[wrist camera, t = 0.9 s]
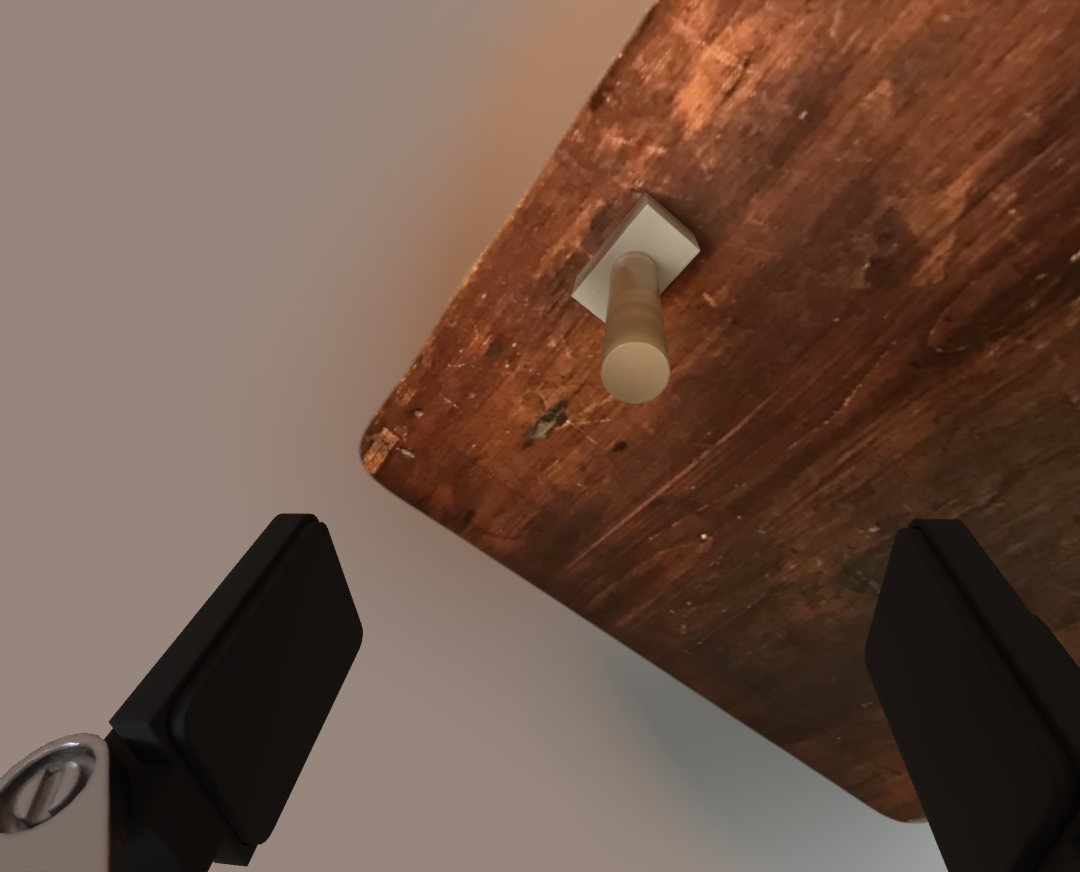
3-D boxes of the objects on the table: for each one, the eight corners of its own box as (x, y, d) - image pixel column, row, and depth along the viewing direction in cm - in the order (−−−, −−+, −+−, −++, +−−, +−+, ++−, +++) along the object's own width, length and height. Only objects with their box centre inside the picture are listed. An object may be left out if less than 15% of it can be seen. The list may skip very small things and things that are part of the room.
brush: (645, 191, 27) (656, 275, 16) (694, 233, 27) (737, 343, 16) (576, 276, 29) (542, 401, 18) (622, 313, 30) (617, 456, 19)
